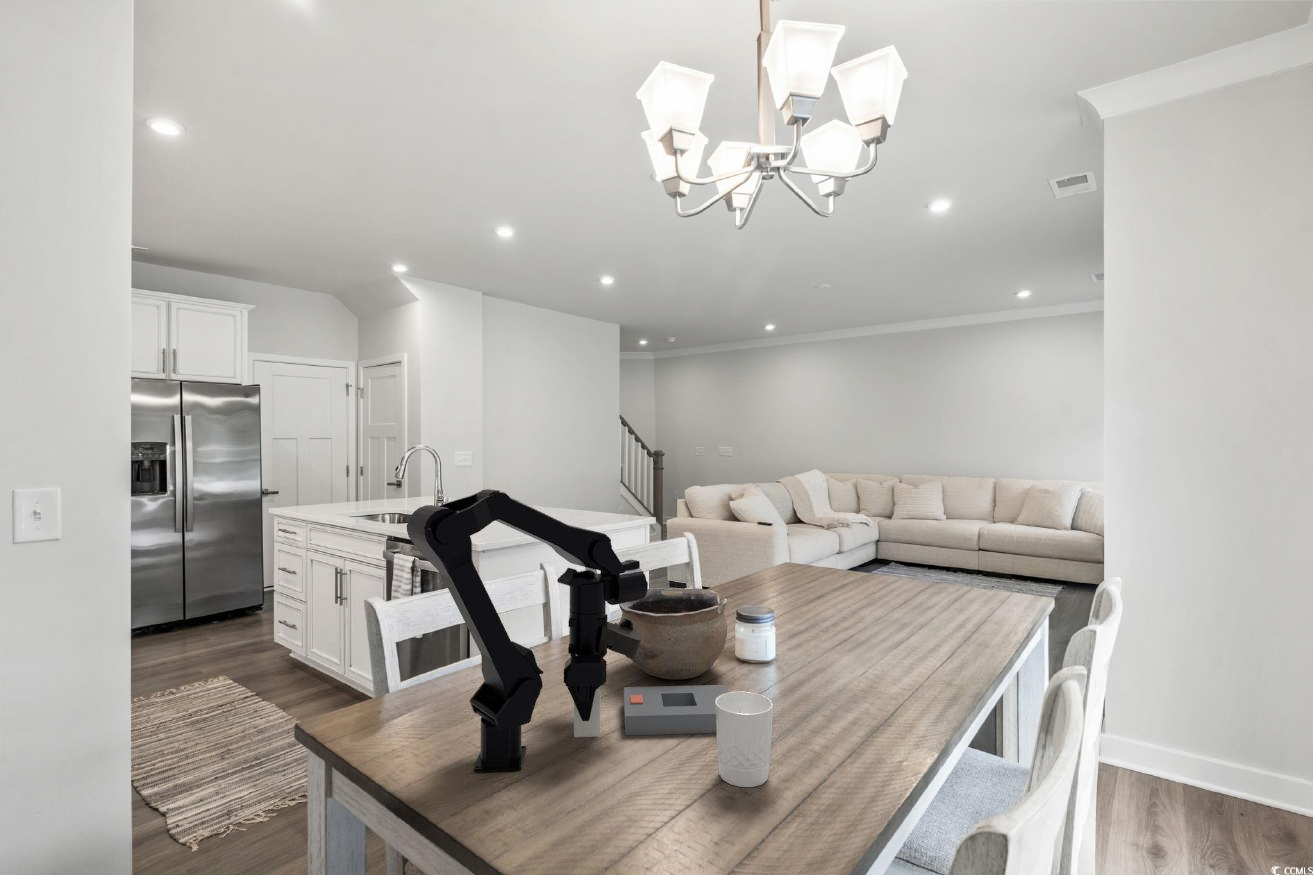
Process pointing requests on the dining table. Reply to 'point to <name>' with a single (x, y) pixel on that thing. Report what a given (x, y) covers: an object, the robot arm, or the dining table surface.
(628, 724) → the socket
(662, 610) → the ceramic bowl
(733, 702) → the white cup
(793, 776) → the dining table surface
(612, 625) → the robot arm
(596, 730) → the plug
